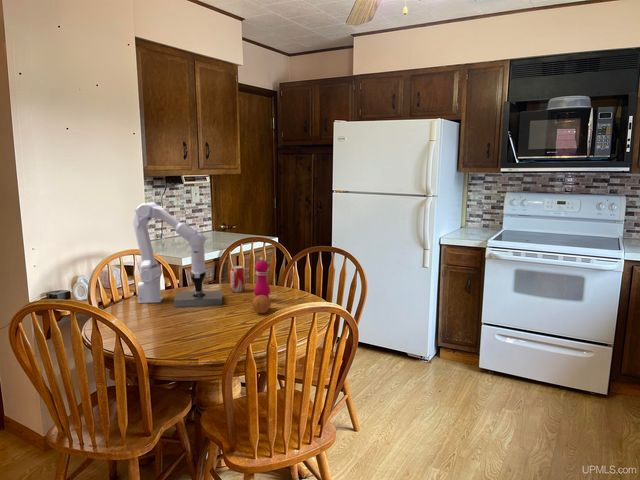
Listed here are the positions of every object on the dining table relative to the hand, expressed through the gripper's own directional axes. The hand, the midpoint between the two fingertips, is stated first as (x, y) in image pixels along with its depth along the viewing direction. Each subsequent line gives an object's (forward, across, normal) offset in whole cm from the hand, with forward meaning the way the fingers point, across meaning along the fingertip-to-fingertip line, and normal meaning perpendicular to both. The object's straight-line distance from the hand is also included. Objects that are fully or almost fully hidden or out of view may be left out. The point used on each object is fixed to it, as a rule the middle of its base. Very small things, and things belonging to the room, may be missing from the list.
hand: (199, 290), depth 212 cm
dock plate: (+5, 0, 0) cm, 5 cm away
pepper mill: (+6, -2, -28) cm, 29 cm away
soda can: (+6, +17, -17) cm, 25 cm away
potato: (+6, -19, -27) cm, 33 cm away
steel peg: (+3, 0, 0) cm, 4 cm away
